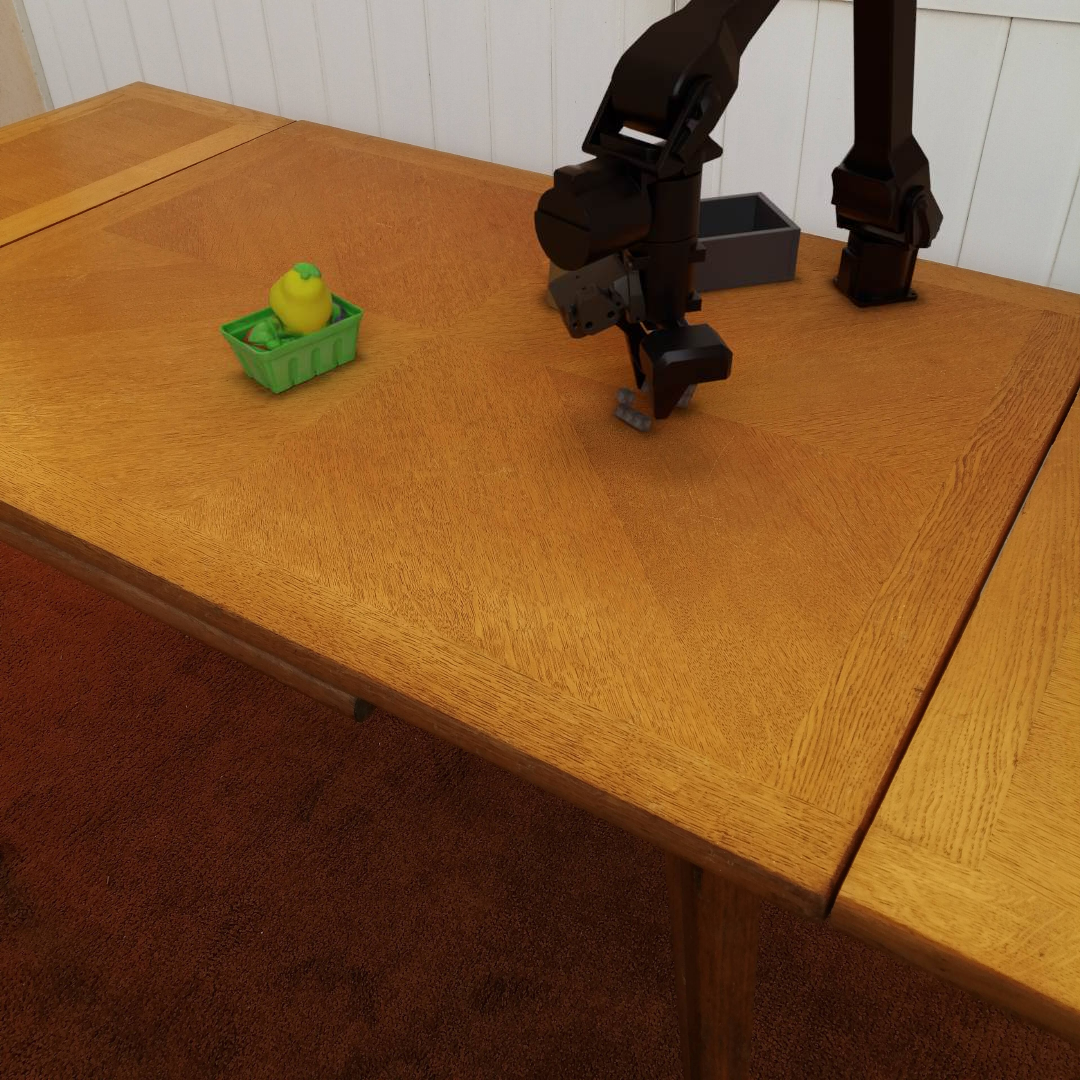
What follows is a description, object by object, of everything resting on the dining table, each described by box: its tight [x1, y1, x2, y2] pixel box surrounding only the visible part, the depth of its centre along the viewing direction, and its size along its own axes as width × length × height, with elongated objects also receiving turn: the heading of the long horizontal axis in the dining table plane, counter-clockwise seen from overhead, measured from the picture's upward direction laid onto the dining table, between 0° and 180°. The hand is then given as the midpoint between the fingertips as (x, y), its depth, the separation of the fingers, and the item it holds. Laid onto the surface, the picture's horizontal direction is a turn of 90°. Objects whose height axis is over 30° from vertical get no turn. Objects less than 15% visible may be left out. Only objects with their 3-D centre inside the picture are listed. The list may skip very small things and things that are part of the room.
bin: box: [694, 191, 802, 294], centre depth 107 cm, size 15×11×6 cm
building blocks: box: [613, 377, 698, 432], centre depth 85 cm, size 3×6×8 cm
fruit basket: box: [219, 261, 364, 395], centre depth 91 cm, size 11×9×11 cm
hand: (652, 403), depth 86 cm, fingers closed on building blocks, 4 cm apart
